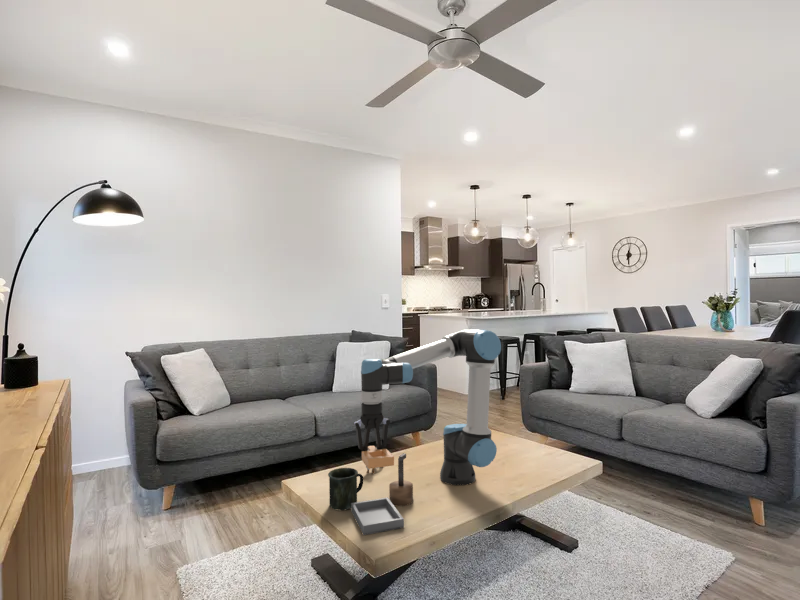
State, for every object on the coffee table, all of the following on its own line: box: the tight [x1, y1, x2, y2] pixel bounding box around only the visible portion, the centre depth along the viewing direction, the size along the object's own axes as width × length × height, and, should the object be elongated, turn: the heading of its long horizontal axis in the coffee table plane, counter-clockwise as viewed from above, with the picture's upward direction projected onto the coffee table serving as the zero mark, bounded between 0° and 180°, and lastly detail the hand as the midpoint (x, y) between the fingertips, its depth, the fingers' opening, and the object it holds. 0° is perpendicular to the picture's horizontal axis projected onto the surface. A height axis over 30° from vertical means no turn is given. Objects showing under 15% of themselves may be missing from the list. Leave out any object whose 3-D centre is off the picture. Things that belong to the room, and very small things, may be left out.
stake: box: [388, 453, 414, 507], centre depth 168 cm, size 9×9×18 cm
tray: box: [350, 497, 405, 536], centre depth 153 cm, size 14×18×3 cm
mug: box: [327, 467, 364, 511], centre depth 166 cm, size 11×15×12 cm
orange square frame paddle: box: [361, 445, 395, 470], centre depth 154 cm, size 14×9×3 cm, turn 19°
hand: (372, 467), depth 158 cm, fingers closed on orange square frame paddle, 3 cm apart
